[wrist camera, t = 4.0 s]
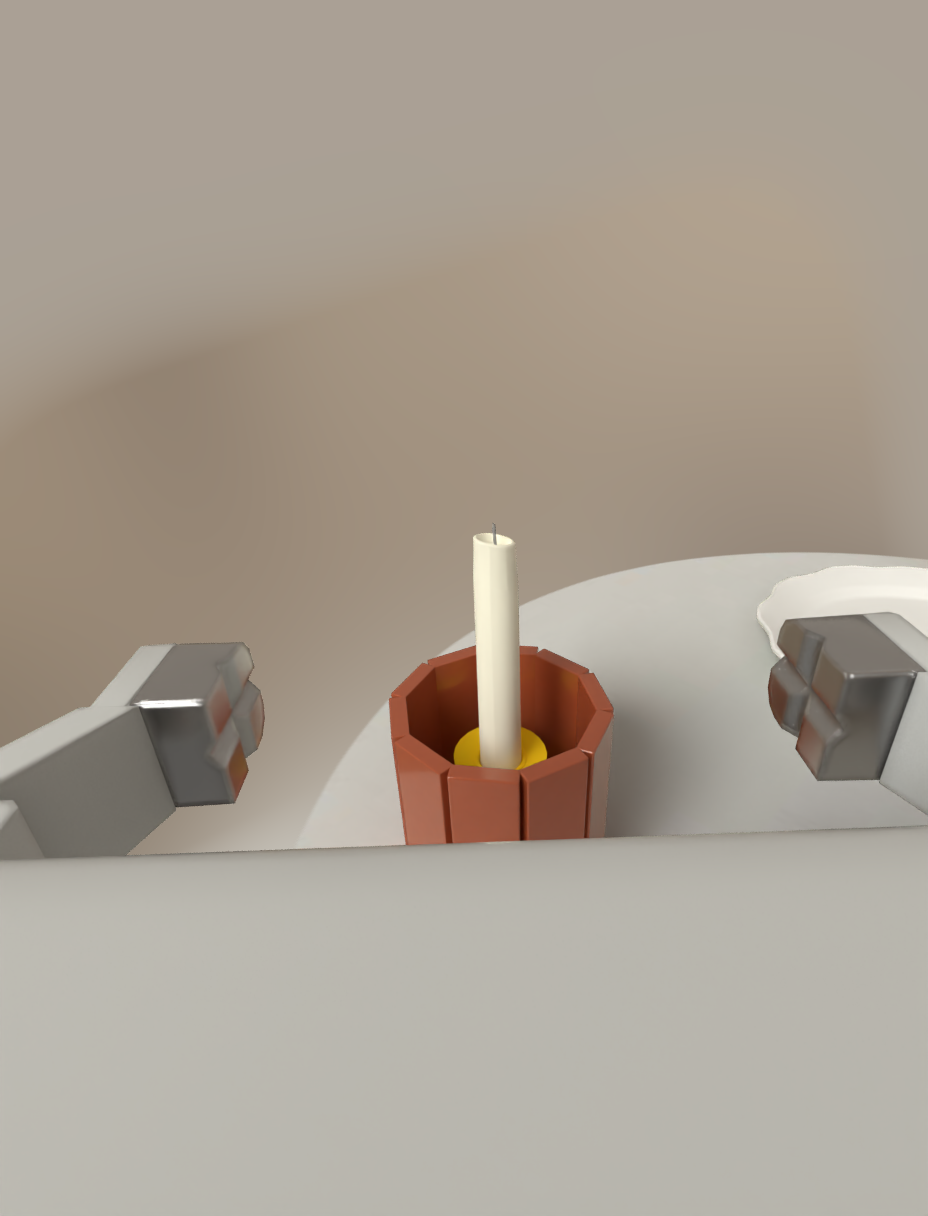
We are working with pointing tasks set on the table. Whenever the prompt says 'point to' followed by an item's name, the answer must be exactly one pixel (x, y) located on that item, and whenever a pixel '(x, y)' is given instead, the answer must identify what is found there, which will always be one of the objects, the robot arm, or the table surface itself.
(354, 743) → the table surface
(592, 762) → the holder cup
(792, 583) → the plate
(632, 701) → the table surface
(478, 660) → the candle
